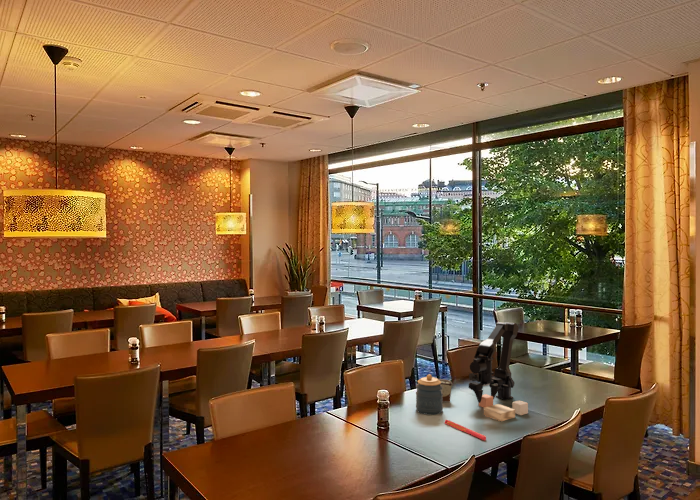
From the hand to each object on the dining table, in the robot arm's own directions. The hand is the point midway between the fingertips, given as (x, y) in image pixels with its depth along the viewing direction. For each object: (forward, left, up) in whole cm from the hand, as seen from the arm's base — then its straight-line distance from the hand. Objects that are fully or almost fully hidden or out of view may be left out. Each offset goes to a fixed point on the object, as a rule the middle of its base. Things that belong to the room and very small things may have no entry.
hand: (485, 401), depth 259 cm
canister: (+28, -10, -3) cm, 30 cm away
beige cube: (-6, +16, -3) cm, 17 cm away
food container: (+12, -20, -3) cm, 24 cm away
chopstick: (+33, +19, -3) cm, 38 cm away
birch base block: (+6, +14, -3) cm, 16 cm away
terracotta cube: (0, 0, -3) cm, 3 cm away
